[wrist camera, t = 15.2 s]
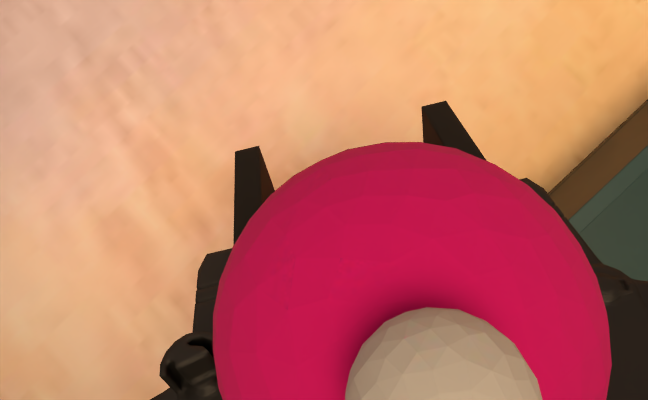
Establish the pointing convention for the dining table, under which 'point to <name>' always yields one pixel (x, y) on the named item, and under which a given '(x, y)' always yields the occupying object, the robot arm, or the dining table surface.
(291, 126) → the dining table surface
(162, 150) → the dining table surface
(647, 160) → the bin
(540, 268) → the pepper mill
